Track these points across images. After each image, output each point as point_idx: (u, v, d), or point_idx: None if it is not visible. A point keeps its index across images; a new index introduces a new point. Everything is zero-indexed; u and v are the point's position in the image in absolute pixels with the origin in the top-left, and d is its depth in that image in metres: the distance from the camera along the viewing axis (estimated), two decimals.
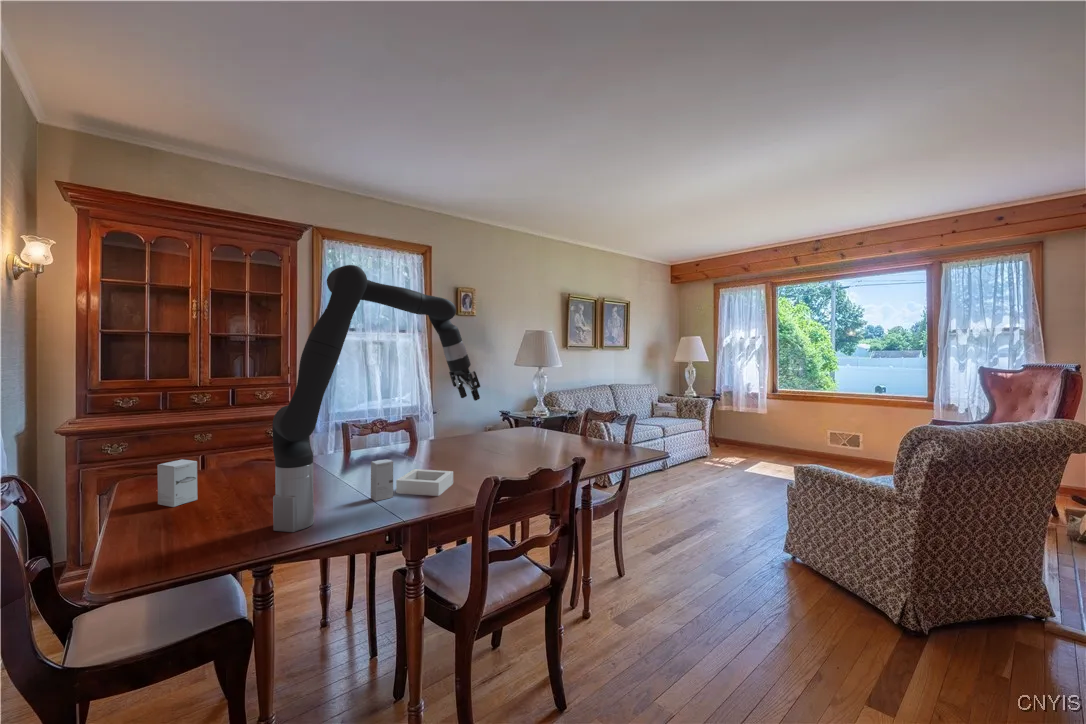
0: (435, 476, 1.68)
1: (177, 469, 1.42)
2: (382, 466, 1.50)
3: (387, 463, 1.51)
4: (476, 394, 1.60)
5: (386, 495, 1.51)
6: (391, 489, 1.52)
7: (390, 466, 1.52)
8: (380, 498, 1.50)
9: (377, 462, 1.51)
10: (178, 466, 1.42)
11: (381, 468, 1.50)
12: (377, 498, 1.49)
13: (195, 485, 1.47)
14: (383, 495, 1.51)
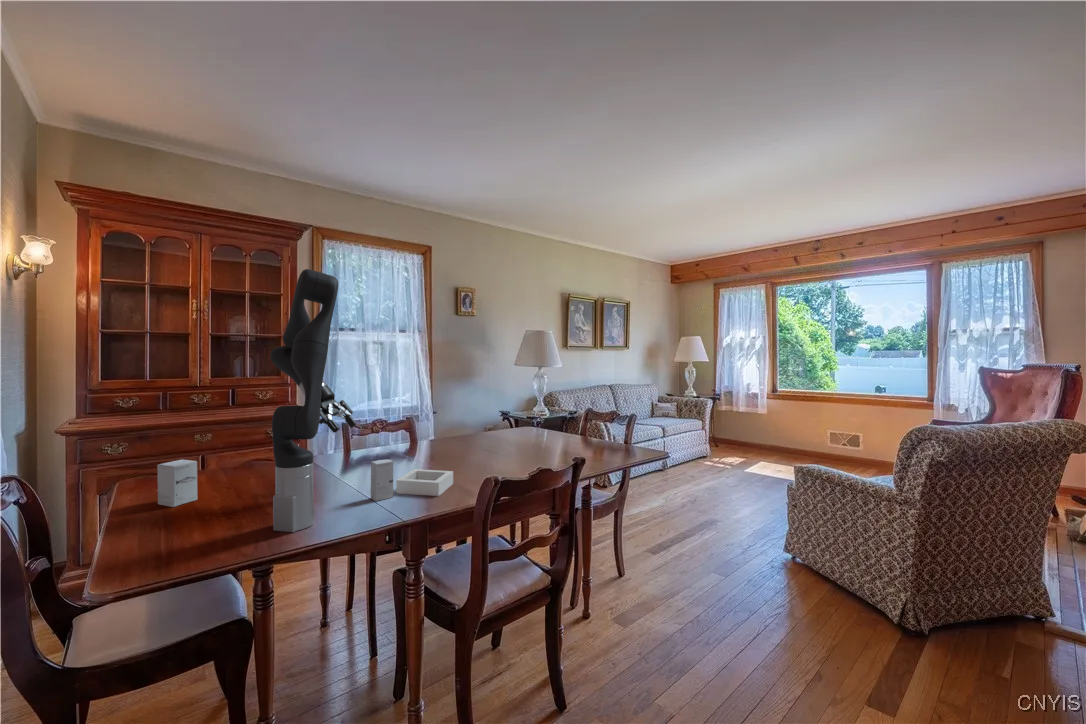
0: (435, 476, 1.68)
1: (176, 469, 1.42)
2: (382, 466, 1.50)
3: (387, 463, 1.51)
4: None
5: (386, 495, 1.51)
6: (391, 489, 1.52)
7: (390, 466, 1.52)
8: (380, 498, 1.50)
9: (377, 462, 1.51)
10: (178, 466, 1.42)
11: (381, 468, 1.50)
12: (377, 498, 1.49)
13: (195, 485, 1.47)
14: (383, 495, 1.51)
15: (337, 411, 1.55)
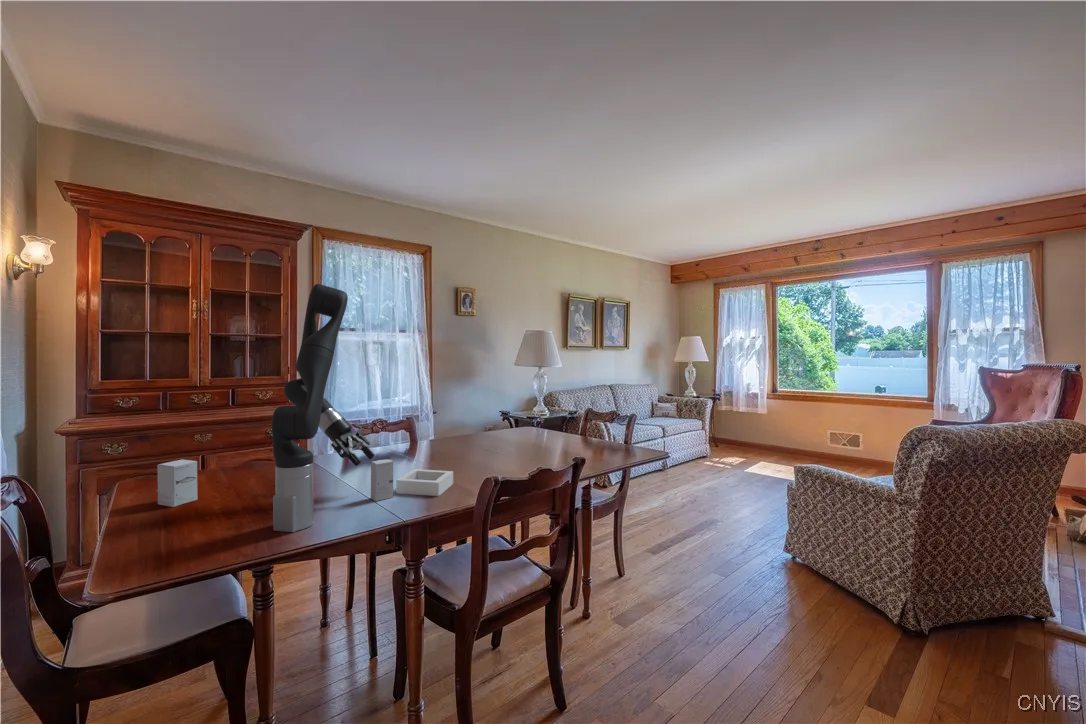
0: (435, 476, 1.68)
1: (176, 469, 1.42)
2: (382, 466, 1.50)
3: (387, 463, 1.51)
4: None
5: (386, 495, 1.51)
6: (391, 489, 1.52)
7: (390, 466, 1.52)
8: (380, 498, 1.50)
9: (377, 462, 1.51)
10: (178, 466, 1.42)
11: (381, 468, 1.50)
12: (377, 498, 1.49)
13: (195, 485, 1.47)
14: (383, 495, 1.51)
15: (356, 443, 1.54)
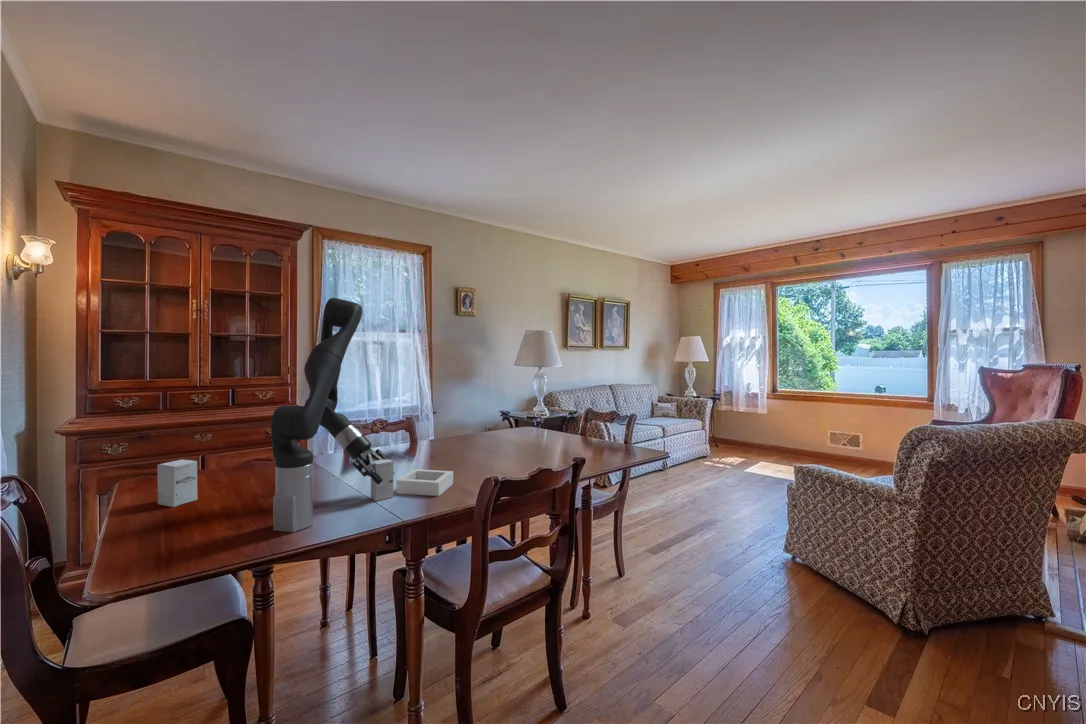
0: (435, 476, 1.68)
1: (176, 469, 1.42)
2: (382, 466, 1.50)
3: (387, 463, 1.51)
4: None
5: (386, 495, 1.51)
6: (391, 489, 1.52)
7: (390, 466, 1.52)
8: (380, 498, 1.50)
9: (377, 462, 1.51)
10: (178, 466, 1.42)
11: (381, 468, 1.50)
12: (377, 498, 1.49)
13: (195, 485, 1.47)
14: (383, 495, 1.51)
15: None
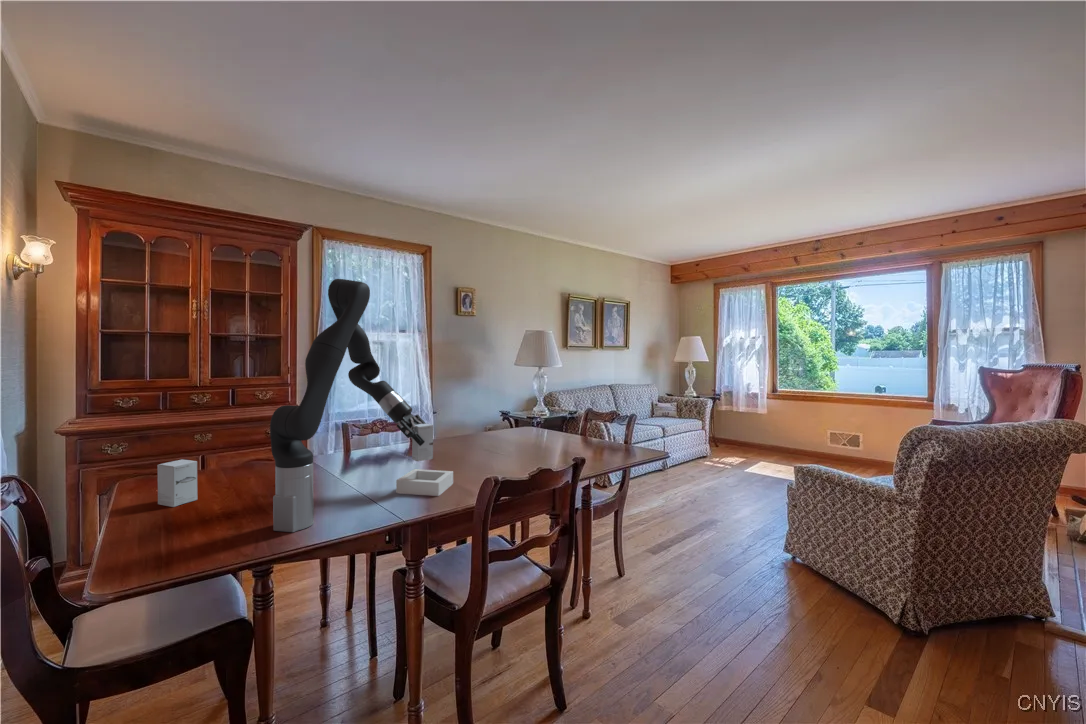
0: (435, 476, 1.68)
1: (177, 469, 1.42)
2: (423, 429, 1.60)
3: (428, 426, 1.61)
4: None
5: (427, 457, 1.61)
6: (431, 451, 1.62)
7: (430, 429, 1.62)
8: (421, 459, 1.60)
9: (418, 425, 1.60)
10: (178, 466, 1.42)
11: (422, 430, 1.60)
12: (419, 458, 1.59)
13: (195, 485, 1.47)
14: (424, 457, 1.60)
15: None
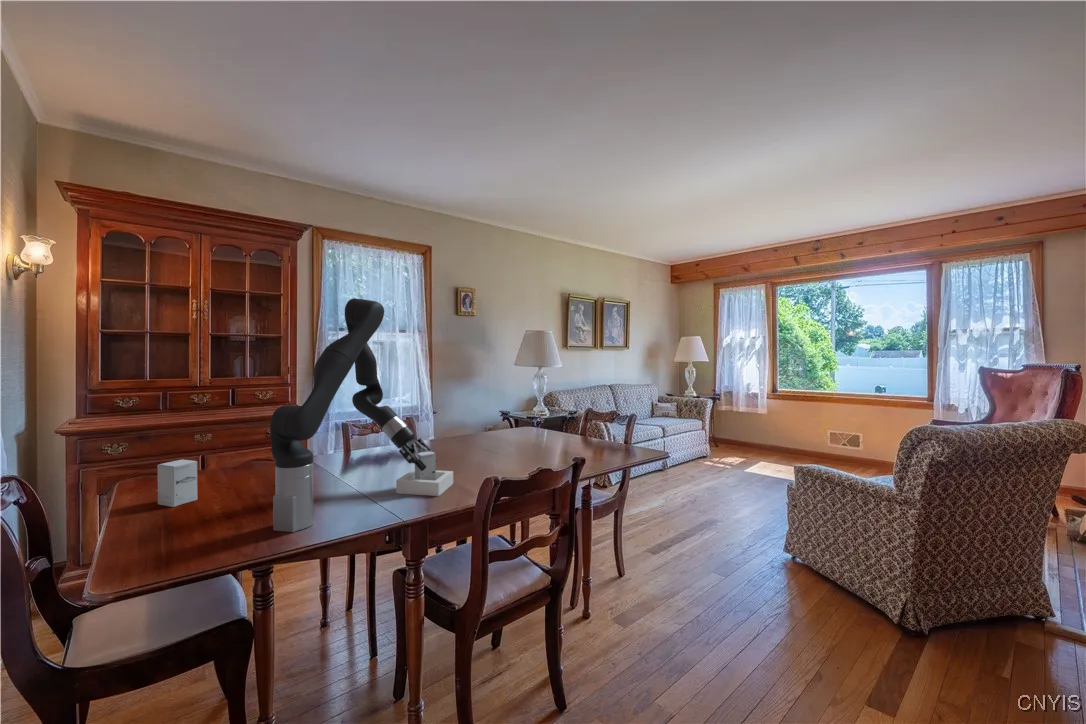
0: (435, 476, 1.68)
1: (177, 469, 1.42)
2: (425, 458, 1.61)
3: (430, 455, 1.62)
4: None
5: None
6: (433, 479, 1.63)
7: (433, 457, 1.63)
8: None
9: (421, 454, 1.61)
10: (178, 466, 1.42)
11: (424, 459, 1.60)
12: None
13: (195, 485, 1.47)
14: None
15: (419, 450, 1.63)
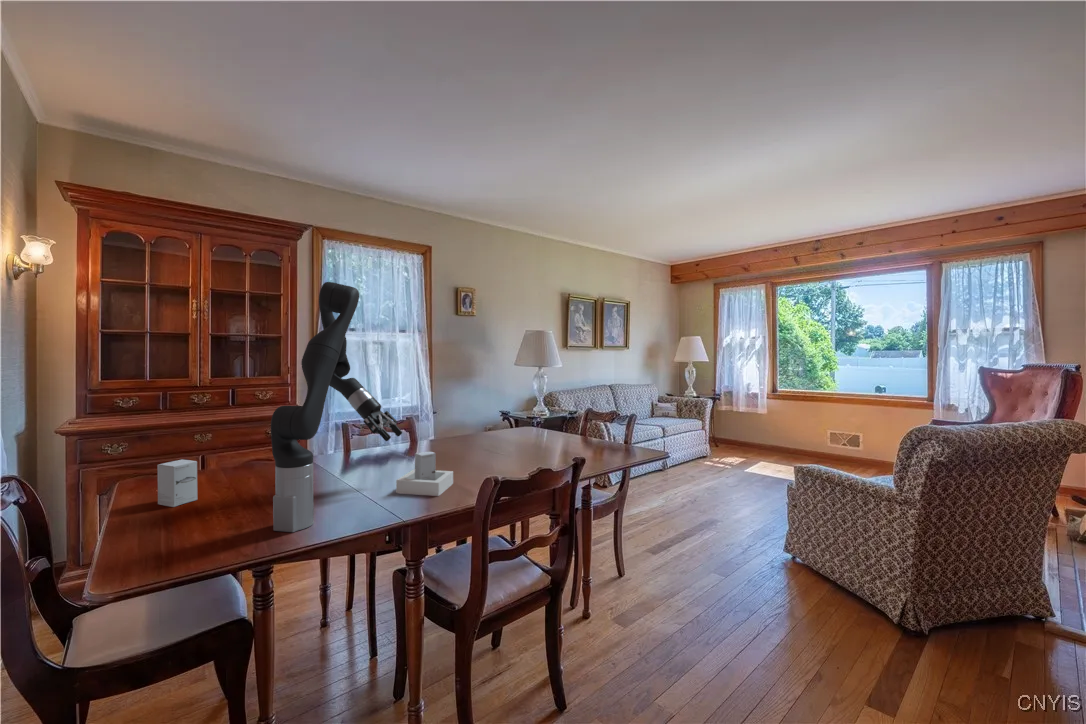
0: (435, 476, 1.68)
1: (176, 469, 1.42)
2: (426, 458, 1.61)
3: (430, 455, 1.62)
4: None
5: None
6: (433, 479, 1.63)
7: (433, 457, 1.63)
8: None
9: (421, 454, 1.61)
10: (178, 466, 1.42)
11: (424, 459, 1.60)
12: None
13: (195, 485, 1.47)
14: None
15: (385, 421, 1.65)
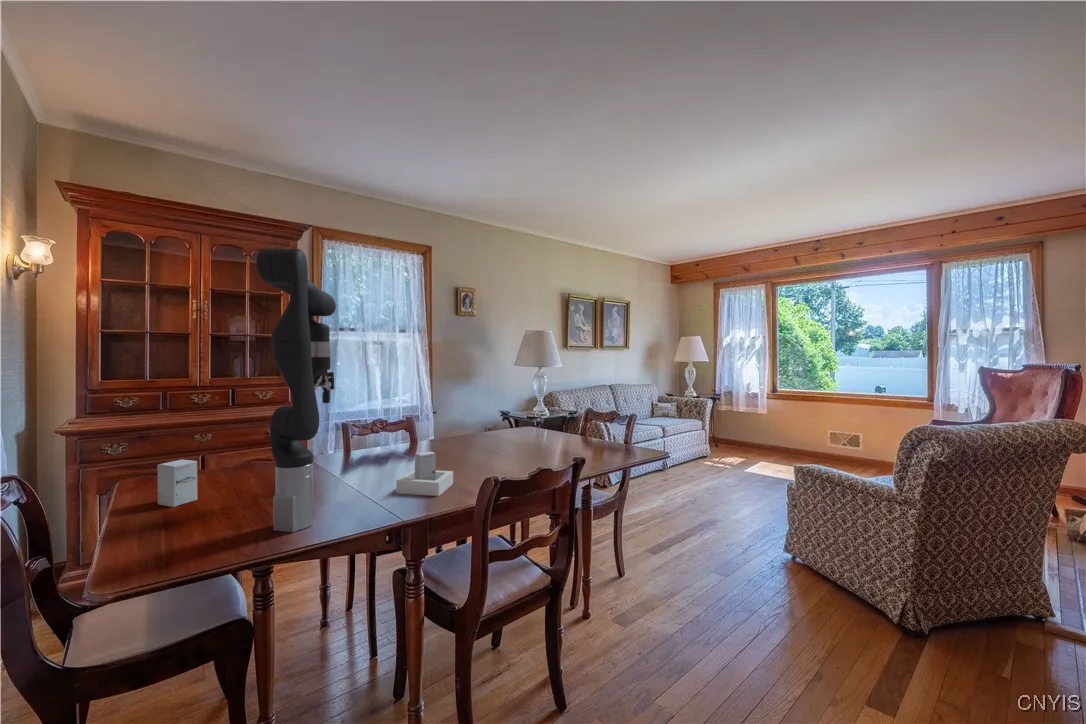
0: (435, 476, 1.68)
1: (177, 469, 1.42)
2: (426, 458, 1.61)
3: (430, 455, 1.62)
4: None
5: None
6: (433, 479, 1.63)
7: (433, 457, 1.63)
8: None
9: (421, 454, 1.61)
10: (178, 466, 1.42)
11: (424, 459, 1.60)
12: None
13: (195, 485, 1.47)
14: None
15: (322, 385, 1.54)
